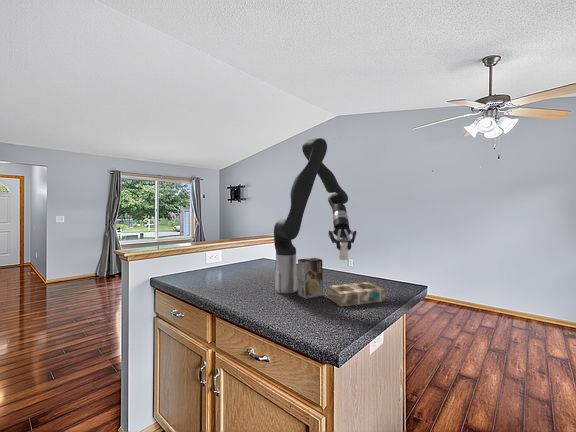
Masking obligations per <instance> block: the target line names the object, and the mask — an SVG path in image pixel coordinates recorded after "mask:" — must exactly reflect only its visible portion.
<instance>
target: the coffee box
mask: <svg viewBox="0 0 576 432" xmlns="http://www.w3.org/2000/svg"><path fill="white" fill-rule="evenodd" d="M323 270H324V269H323V259H322V258H316V257H306V258H299V259H297V278H298V280H297V282H298V283H297V284H298V285H297V286H298V289H297V290H298V296H299V297H301V298H302V299H312V298H317V297H323V296H324V286H323V284H324V283H323V282H324V281H323V279H324V278H323V277H324V276H323Z"/></svg>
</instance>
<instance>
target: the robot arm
mask: <svg viewBox="0 0 576 432" xmlns="http://www.w3.org/2000/svg"><path fill="white" fill-rule="evenodd" d="M301 149H302V153H303V155H304V157H305V158H306V160H307V163H306V165H305V166H304V167H303V168H302V169H301V170H300V171H299V172H298V174H297V175H296V177H294V180H293V182H292V183H293V184H292V186H291V188H290V193H289V194H290V209H289V212H288V214H287V216H286V218H285V219H284V218H283V219H279V220H277V221H276V223H275V224H274V227H273V242H274V249H275V254H276V256H275V257H276V259H275V260H276V268H275V271H274V273H275V274H274V275H275V277H274V283H275V284H274V285H275V291H276V293H278V294H292V293H295V292H297V248H296V247H295V246H294V244H293V242H292V241H293V240H294V239H296V238H297V237H298V236H299V232H300V230H301V227H302V226H301V225H302V221H303V216H304V215H305V214H304V213H305V210H306V207H307V204H308V200H309V199H310V196H311V193H312V190H313V187H314V184H315V180H316V178H317V175H318V177H319V178H320V181H321V182H322V185H323V186H324V188H325V190H326V191H325V192H327V193H330V195H329V196H328V198H327V201H328V204H329V205H330V207H331V210H332V224H333V230H328V237H329V239H330V241H331V243H332V244H335V245H336V249H337V250H338V251H339V250H340V242H339V238H341V237H345V238H348V251H350V250H351V249H352V244H354V243H355V239H356V237H357V230H353V231H352V230H351V228H350V223H349V222H350V221H349V216H348V213H347V208H346V207H347V206H346V205H345V204H347V203H348V201H349V196H348V194H347V192H346V191H344V189H343V188H342V186H341V185H340V184H339V182H338V181H337V178H336V175H335V174H334V173H333V172H332V170H330V169H329V168H328V166H326V164H324V163H323V161H324V158H325V157H326V154H327V152H328V151H327V150H328V144H327V141H326V139H324V138H320V137H319V138H318V137H317V138H312V139H307V140H305V141H304V142H303V144H302V148H301ZM331 193H332V194H331ZM334 235H335V236H334ZM350 235H351V237H352V238H351V237H350ZM335 237H336V238H335Z"/></svg>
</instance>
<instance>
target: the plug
mask: <svg viewBox="0 0 576 432" xmlns="http://www.w3.org/2000/svg"><path fill="white" fill-rule="evenodd" d="M339 242H340V250H338V252H339V253H338V256H339V258H338V259H339V260H340V261H348V260H349V250H348V238H345V237H341V238H339Z"/></svg>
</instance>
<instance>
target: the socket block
mask: <svg viewBox="0 0 576 432" xmlns="http://www.w3.org/2000/svg"><path fill="white" fill-rule="evenodd" d="M327 298H328V299H329V300H331V301H332V302H334V303H335V304H337V305H338V306H340V307H347V306H348V307H350V306H356V305H366V304H374V303H381V302H382V301H383V302H386V289H385V288H383V287H381V286H379V285H376V284H373V283H372V282H369V281H365V282H364V281H363V282H355V283H353V282H352V283H347V284H346V283H344V284H334V285H333V284H332V285H327Z"/></svg>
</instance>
